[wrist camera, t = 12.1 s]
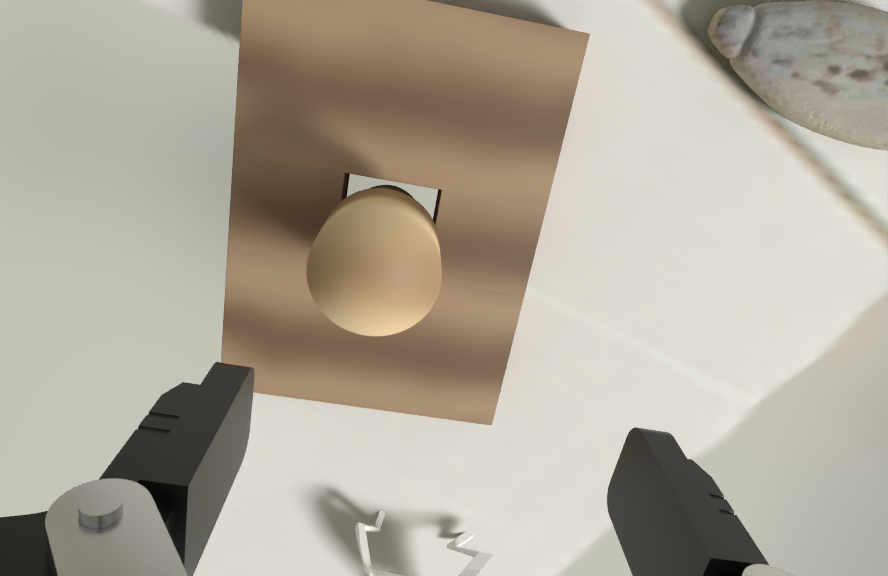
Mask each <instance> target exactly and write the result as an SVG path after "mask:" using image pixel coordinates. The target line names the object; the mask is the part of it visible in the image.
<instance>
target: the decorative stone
mask: <svg viewBox="0 0 888 576" xmlns="http://www.w3.org/2000/svg"><path fill="white" fill-rule="evenodd" d="M708 35H709V38H710V40H711V42H712V43H713V44H714V45H715V47H716V48H717V49H718V50H719V52H720V53H721V54H722V55H723V56H724V57H726V58H729V61H730V65H731V66H732V68H733V69H734V71H735V72H736V73H737V74H738V75H739V76H740V77H741V78H742V80H743V81H744V82H745V83H746V84H747V85H748V86H749V87H750V88H751V89H752V90H753V91H754V92H755V93H756V94H757V95H758V96H759V97H760V98H761V99H762V100H763V101H764V102H765V103H766V104H767V105H769V106H770V107H771V108H773V109H774V110H775V111H776V112H778V113H779V114H780V115H782V116H784V117H785V118H787V119H789V120H791V121H793V122H795V123H796V124H798V125H800V126H803V127H805V128H807V129H809V130H811V131H814V132H817V133H819V134H822V135H824V136H827V137H830V138H833V139H836V140H840V141H843V142H846V143H850V144H854V145H858V146H862V147H867V148H873V149H878V150H887V151H888V12H885V11H882V10H879V9H876V8H872V7H867V6H862V5H858V4H852V3H844V2H835V1H826V0H809V1H786V2H767V3H762V4H759V5H757V6H755V7H752V6H749V5H738V4H737V5H734V6H730V7H725V8H722V9H719V10H718V11H717V12H716V13H715V15H714V16H713V17H712V19H711V22H710V24H709V27H708Z"/></svg>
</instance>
